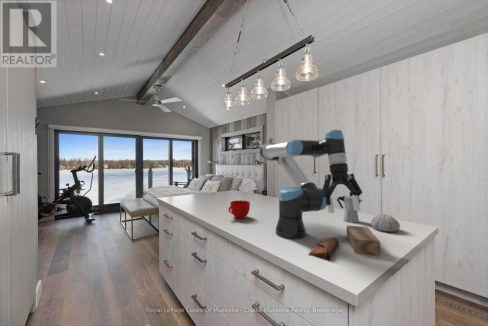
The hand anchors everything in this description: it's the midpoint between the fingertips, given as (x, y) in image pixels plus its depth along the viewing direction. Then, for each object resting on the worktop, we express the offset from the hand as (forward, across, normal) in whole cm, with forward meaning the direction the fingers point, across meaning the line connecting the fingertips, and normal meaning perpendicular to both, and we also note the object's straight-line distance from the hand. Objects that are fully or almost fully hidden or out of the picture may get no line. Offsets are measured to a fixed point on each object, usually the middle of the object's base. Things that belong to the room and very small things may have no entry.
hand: (344, 211), depth 91 cm
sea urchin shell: (+14, +38, +15) cm, 43 cm away
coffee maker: (+10, +32, +34) cm, 48 cm away
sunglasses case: (+16, -11, +2) cm, 19 cm away
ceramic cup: (+4, -34, +58) cm, 67 cm away
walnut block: (+16, +8, +2) cm, 18 cm away
